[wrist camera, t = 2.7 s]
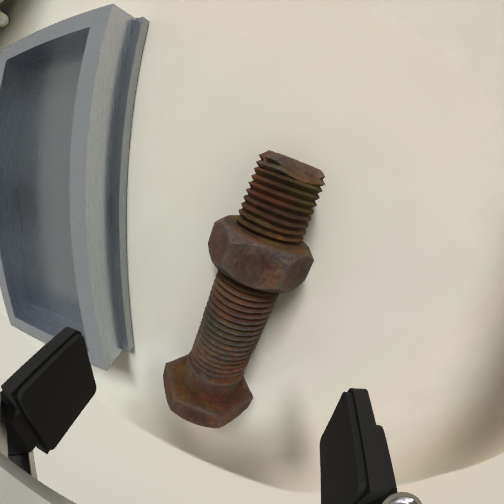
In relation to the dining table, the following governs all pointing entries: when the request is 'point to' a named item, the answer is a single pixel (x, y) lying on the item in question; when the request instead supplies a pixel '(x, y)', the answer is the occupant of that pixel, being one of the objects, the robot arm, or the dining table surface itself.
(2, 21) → the passion flower
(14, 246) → the tray
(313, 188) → the bolt
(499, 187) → the dining table surface
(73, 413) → the robot arm
